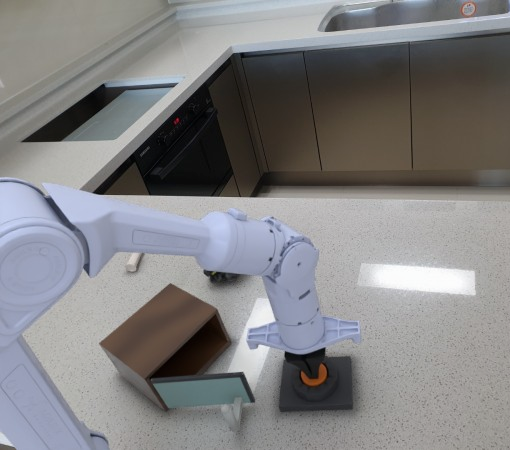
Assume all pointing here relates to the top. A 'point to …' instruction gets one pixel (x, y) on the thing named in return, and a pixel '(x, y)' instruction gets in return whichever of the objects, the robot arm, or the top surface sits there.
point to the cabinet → (167, 340)
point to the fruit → (220, 276)
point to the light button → (315, 382)
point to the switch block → (325, 395)
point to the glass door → (208, 393)
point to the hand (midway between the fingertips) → (313, 372)
